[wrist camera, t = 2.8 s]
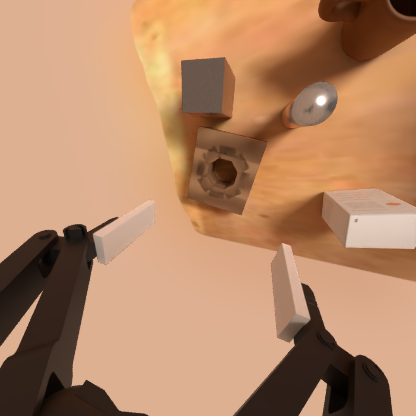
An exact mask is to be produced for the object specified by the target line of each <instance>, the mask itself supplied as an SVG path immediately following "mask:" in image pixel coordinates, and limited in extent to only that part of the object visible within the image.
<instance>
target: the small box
mask: <svg viewBox="0 0 416 416" xmlns="http://www.w3.org/2000/svg"><path fill="white" fill-rule="evenodd" d="M322 218H323V219H324V221H325V222H326V223H327V225H328V226H329V227H330V229H331V230H332V231H333V232H334V234H335V235H336V236H337V238H338V239H339V240H340V242H341V243H342V244H343V246H344V247H345V248H390V249H415V247H416V207H415V206H413V205H411V204H409V203H407V202H405V201H402V200H400V199H398V198H396V197H394V196H392V195H390V194H387V193H385V192H383V191H381V190H379V189H377V188H368V189H354V190H340V191H326V192H324V197H323V207H322Z"/></svg>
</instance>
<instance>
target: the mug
mask: <svg viewBox="0 0 416 416" xmlns="http://www.w3.org/2000/svg"><path fill="white" fill-rule="evenodd" d="M318 13H319V16H320V18H321V19H322V20H325V21H328V22H337V21H345V23H344V26H343V30H342V46H343V49H344V51H345V52H346V53H347V55H348V56H350V57H351V58H353V59H357V60H367V59H371V58H374V57H377V56H379V55H381V54H383V53H385V52H387V51H389V50H390V49H392V48H393V47H395V46H396V45H398V44H400V43H401V42H403V41H405V40H406V39H408V38H409V37H411V36H413V35H414V34H416V0H321V1H320V4H319V8H318Z"/></svg>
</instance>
